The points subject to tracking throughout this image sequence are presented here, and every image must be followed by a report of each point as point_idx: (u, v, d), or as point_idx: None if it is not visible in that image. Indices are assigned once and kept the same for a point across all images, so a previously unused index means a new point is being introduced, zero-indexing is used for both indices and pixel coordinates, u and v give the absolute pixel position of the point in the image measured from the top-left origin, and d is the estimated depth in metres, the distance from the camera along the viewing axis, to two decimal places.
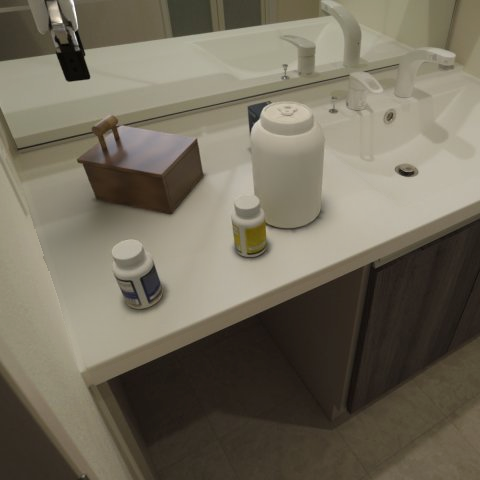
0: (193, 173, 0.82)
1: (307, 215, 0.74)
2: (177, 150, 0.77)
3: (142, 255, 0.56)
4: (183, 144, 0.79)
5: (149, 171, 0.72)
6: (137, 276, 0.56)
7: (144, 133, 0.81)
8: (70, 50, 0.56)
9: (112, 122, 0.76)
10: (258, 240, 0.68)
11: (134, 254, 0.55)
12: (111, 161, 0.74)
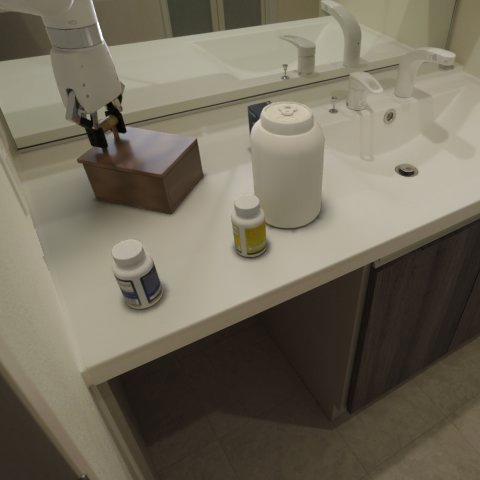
0: (193, 173, 0.82)
1: (307, 215, 0.74)
2: (177, 150, 0.77)
3: (142, 255, 0.56)
4: (183, 144, 0.79)
5: (149, 171, 0.72)
6: (137, 276, 0.56)
7: (144, 133, 0.81)
8: (88, 128, 0.72)
9: (112, 122, 0.76)
10: (258, 240, 0.68)
11: (134, 254, 0.55)
12: (111, 161, 0.74)
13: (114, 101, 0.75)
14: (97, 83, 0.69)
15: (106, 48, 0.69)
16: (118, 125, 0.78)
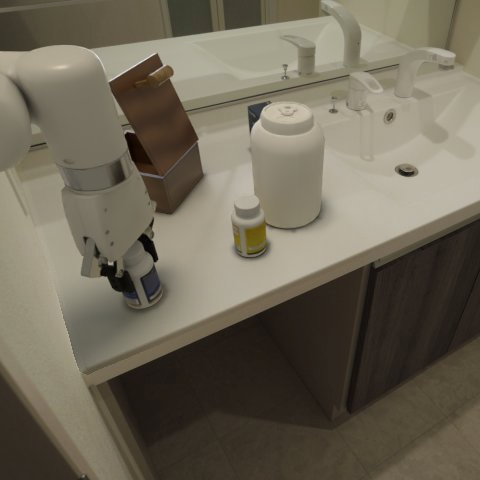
0: (193, 173, 0.82)
1: (307, 215, 0.74)
2: (182, 146, 0.76)
3: (142, 255, 0.56)
4: (188, 140, 0.78)
5: (157, 163, 0.70)
6: (137, 276, 0.56)
7: (170, 91, 0.74)
8: None
9: (167, 79, 0.68)
10: (258, 240, 0.68)
11: (134, 253, 0.55)
12: (136, 117, 0.66)
13: (145, 229, 0.57)
14: (124, 222, 0.50)
15: (136, 173, 0.51)
16: None
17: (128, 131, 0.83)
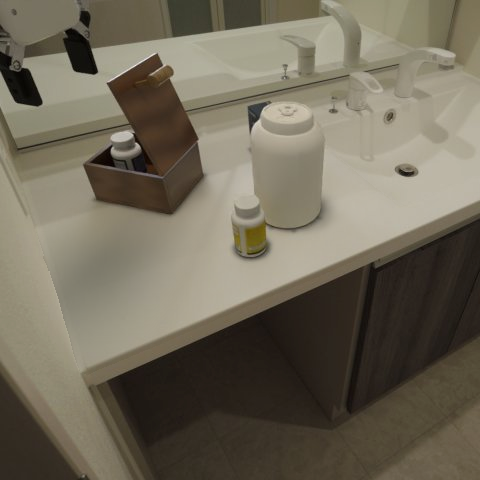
0: (193, 173, 0.82)
1: (307, 215, 0.74)
2: (182, 146, 0.76)
3: (133, 141, 0.77)
4: (188, 140, 0.78)
5: (157, 163, 0.70)
6: (129, 157, 0.77)
7: (170, 91, 0.74)
8: (3, 67, 0.42)
9: (167, 79, 0.68)
10: (258, 240, 0.68)
11: (126, 139, 0.76)
12: (136, 117, 0.66)
13: None
14: None
15: None
16: (84, 60, 0.51)
17: (128, 131, 0.83)
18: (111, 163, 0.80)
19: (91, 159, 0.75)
